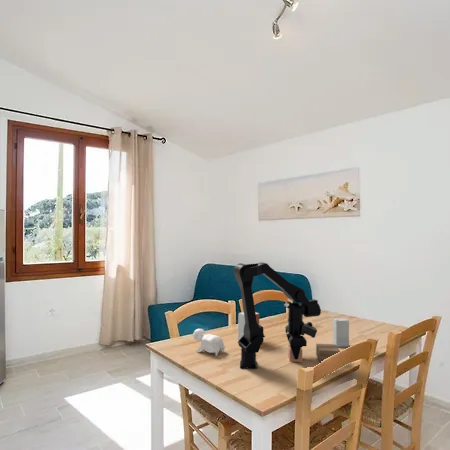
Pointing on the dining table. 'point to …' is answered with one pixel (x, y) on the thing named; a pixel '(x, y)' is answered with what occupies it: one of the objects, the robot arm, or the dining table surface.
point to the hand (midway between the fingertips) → (295, 356)
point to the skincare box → (341, 332)
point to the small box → (243, 324)
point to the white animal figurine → (208, 342)
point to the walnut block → (325, 351)
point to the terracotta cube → (291, 356)
